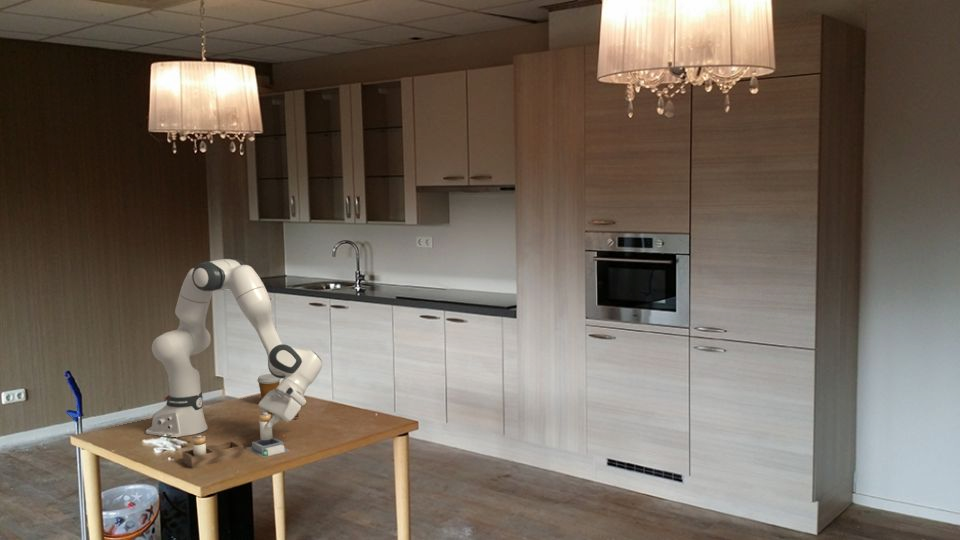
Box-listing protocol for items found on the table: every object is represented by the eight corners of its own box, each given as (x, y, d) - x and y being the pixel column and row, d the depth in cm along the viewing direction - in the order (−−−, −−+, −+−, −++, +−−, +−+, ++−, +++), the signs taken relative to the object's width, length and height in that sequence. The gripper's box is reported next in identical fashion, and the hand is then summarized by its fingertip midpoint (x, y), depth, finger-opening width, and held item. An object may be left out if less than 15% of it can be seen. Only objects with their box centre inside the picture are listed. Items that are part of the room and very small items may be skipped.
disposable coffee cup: (286, 403, 354) (285, 375, 353) (267, 408, 347) (265, 380, 346) (273, 400, 361) (271, 372, 359) (254, 405, 354) (252, 376, 352)
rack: (192, 471, 273) (191, 458, 273) (183, 465, 280) (182, 451, 279) (244, 459, 284) (243, 446, 283) (233, 453, 290) (233, 440, 290)
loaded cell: (191, 463, 277) (189, 437, 276) (198, 459, 281) (197, 433, 280) (202, 464, 276) (200, 438, 275) (209, 460, 280) (207, 434, 279)
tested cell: (258, 439, 289) (256, 414, 288) (264, 436, 293) (262, 411, 292) (268, 440, 288) (267, 414, 287) (274, 437, 292) (273, 411, 291)
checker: (263, 460, 282) (262, 450, 282) (245, 450, 293) (245, 440, 293) (290, 453, 288) (290, 443, 288) (272, 444, 299) (272, 434, 299)
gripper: (269, 381, 301) (245, 413, 296) (296, 392, 285) (270, 426, 280) (281, 391, 304) (257, 423, 299) (308, 403, 288) (283, 436, 283)
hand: (264, 425), depth 289 cm, fingers closed on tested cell, 4 cm apart
